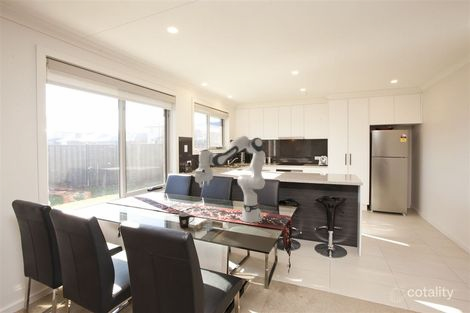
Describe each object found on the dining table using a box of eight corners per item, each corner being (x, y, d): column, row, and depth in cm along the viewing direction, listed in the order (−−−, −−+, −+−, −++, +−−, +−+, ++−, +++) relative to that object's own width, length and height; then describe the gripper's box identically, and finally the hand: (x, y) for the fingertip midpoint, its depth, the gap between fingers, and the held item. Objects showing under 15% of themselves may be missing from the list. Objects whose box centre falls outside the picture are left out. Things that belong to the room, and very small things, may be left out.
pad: (205, 226, 187) (205, 226, 187) (213, 228, 184) (213, 228, 184) (201, 229, 182) (201, 229, 182) (208, 231, 178) (208, 230, 178)
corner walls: (206, 224, 193) (206, 219, 193) (222, 227, 186) (222, 222, 186) (194, 230, 179) (194, 225, 178) (211, 234, 171) (211, 229, 171)
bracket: (201, 228, 182) (201, 222, 182) (205, 226, 186) (205, 220, 186) (209, 230, 179) (209, 223, 178) (213, 228, 183) (213, 221, 183)
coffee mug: (176, 228, 184) (176, 215, 183) (182, 224, 192) (181, 212, 191) (190, 229, 180) (190, 217, 180) (195, 226, 189) (195, 213, 188)
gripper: (208, 168, 202) (208, 183, 203) (193, 170, 184) (193, 188, 185) (214, 168, 199) (214, 184, 200) (200, 171, 181) (200, 188, 182)
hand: (204, 186), depth 192 cm, fingers open, 8 cm apart
